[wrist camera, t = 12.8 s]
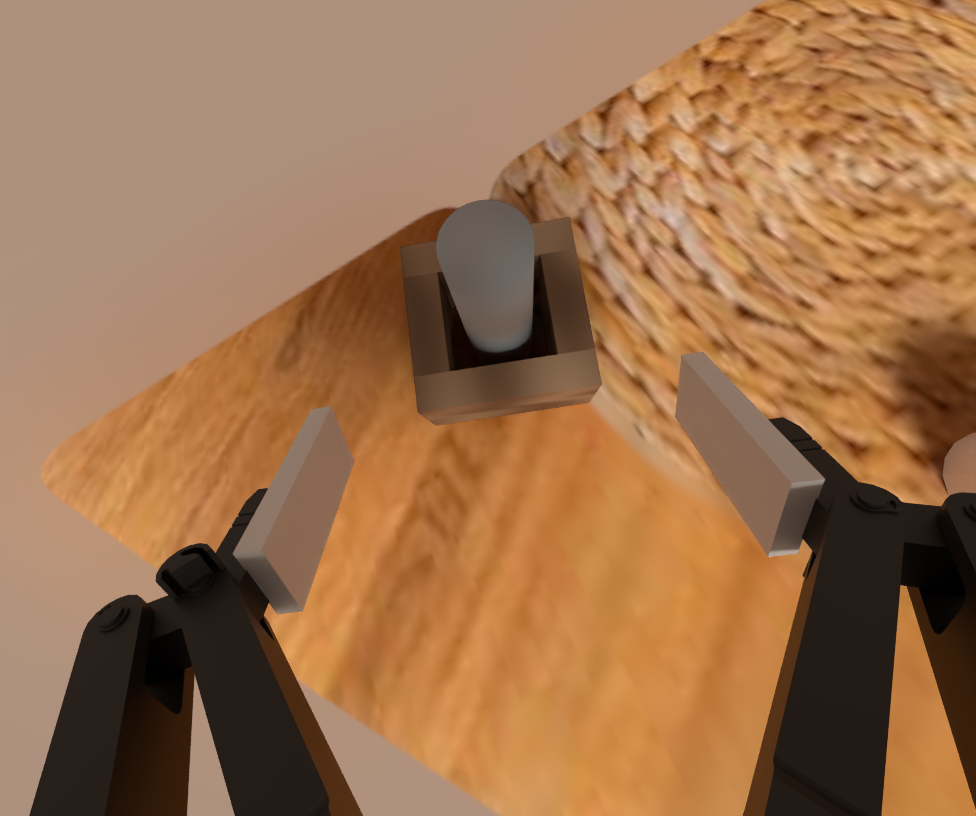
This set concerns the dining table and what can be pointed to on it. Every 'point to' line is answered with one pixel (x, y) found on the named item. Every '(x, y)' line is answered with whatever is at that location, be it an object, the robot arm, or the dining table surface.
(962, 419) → the dining table surface
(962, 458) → the grey and white cylinder
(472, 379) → the socket
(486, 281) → the grey cylinder
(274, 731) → the robot arm
